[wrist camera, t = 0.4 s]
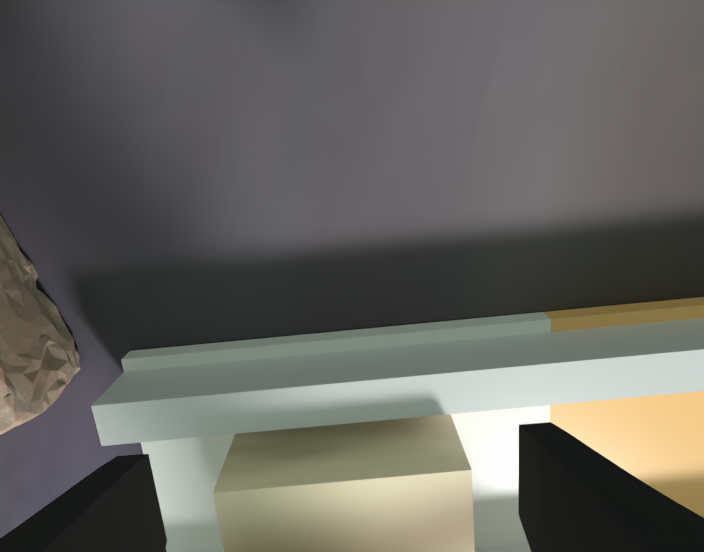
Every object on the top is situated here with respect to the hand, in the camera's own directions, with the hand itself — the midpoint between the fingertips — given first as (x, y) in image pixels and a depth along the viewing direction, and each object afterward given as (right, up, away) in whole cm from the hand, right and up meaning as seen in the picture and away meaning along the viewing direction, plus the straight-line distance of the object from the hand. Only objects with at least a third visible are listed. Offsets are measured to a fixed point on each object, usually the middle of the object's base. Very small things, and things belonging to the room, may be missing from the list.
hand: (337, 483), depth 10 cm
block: (0, -4, +10) cm, 11 cm away
